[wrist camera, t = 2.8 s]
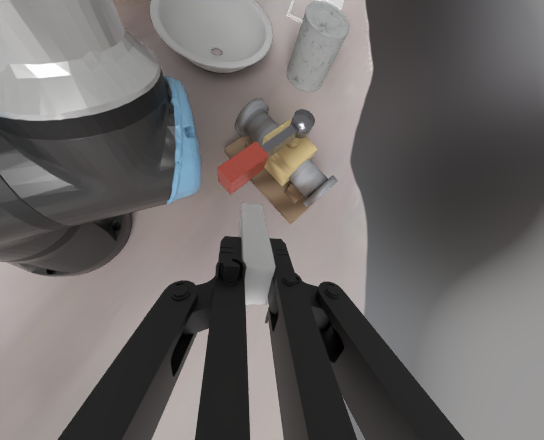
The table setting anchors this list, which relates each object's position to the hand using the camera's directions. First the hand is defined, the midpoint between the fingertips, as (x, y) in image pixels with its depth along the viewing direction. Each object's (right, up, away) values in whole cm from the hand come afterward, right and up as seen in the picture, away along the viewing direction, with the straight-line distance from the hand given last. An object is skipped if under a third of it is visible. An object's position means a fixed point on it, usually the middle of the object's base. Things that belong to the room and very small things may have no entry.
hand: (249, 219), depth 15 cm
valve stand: (+3, +10, +27) cm, 29 cm away
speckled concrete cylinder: (+10, +37, +36) cm, 52 cm away
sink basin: (-11, +39, +31) cm, 51 cm away
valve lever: (+1, +9, +13) cm, 16 cm away
